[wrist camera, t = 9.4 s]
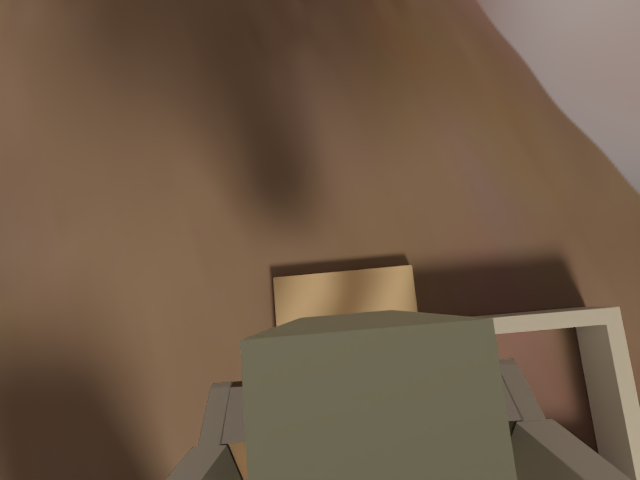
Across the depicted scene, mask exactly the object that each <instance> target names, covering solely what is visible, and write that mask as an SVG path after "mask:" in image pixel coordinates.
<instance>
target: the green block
mask: <svg viewBox="0 0 640 480" xmlns="http://www.w3.org/2000/svg"><path fill="white" fill-rule="evenodd" d="M240 349H241V367H242V386H243V405H244V423H245V442H246V461H247V479H248V480H517V475H516V469H515V462H514V455H513V449H512V442H511V435H510V429H509V422H508V415H507V409H506V402H505V395H504V389H503V382H502V375H501V369H500V362H499V355H498V349H497V342H496V335H495V329H494V322H493V318H481V317H470V316H458V315H446V314H434V313H423V312H411V311H399V310H385V311H373V312H362V313H350V314H338V315H327V316H315V317H304V318H298V319H296V320H293V321H290V322H288V323H285V324H282V325H279V326H277V327H274V328H271V329H269V330H266V331H263V332H261V333H258V334H255V335H253V336H250V337H247V338H244V339H242V340H240Z"/></svg>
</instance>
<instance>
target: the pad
mask: <svg viewBox="0 0 640 480" xmlns="http://www.w3.org/2000/svg"><path fill="white" fill-rule="evenodd" d="M273 284H274V298H275V313H276V327H277V326H279V325H282V324H285V323H288V322H290V321H293V320H296V319H298V318H304V317H315V316H327V315H338V314H350V313H362V312H373V311H385V310H399V311H411V312H418V311H417V303H416V295H415V287H414V279H413V270H412V265H405V266H394V267H383V268H372V269H362V270H351V271H340V272H329V273H318V274H307V275H296V276H285V277H274V278H273Z"/></svg>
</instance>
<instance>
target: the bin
mask: <svg viewBox="0 0 640 480" xmlns="http://www.w3.org/2000/svg"><path fill="white" fill-rule="evenodd" d="M471 317H481V318H493V322H494V329H495V334H500V333H512V332H524V331H535V330H547V329H559V328H570V327H576V333H577V338H578V344H579V349H580V355H581V360H582V366H583V371H584V377H585V382H586V388H587V393H588V399H589V404H590V410H591V415H592V421H593V426H594V432H595V437H596V443H597V448H598V454H599V455H600V456H601V457H603V458H604V459H605V460H607V461H608V462H609V463H611V464H612V465H613V466H614V467H616V468H617V469H618V470H620V471H621V472H622V473H623V474H625V475H626V476H627V477H629V478H630V479H631V480H640V407H639V402H638V397H637V392H636V387H635V382H634V377H633V372H632V367H631V362H630V357H629V352H628V347H627V342H626V337H625V332H624V327H623V322H622V317H621V312H620V307H575V308H563V309H552V310H540V311H529V312H517V313H506V314H494V315H483V316H471Z"/></svg>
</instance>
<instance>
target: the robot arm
mask: <svg viewBox="0 0 640 480" xmlns="http://www.w3.org/2000/svg"><path fill="white" fill-rule="evenodd" d="M499 362H500V369H501V375H502V382H503V389H504V395H505V402H506V409H507V415H508V422H509V429H510V435H511V442H512V449H513V455H514V462H515V469H516V475H517V480H631V479H630V478H629V477H627V476H626V475H625V474H623V473H622V472H621V471H620V470H618V469H617V468H616V467H614V466H613V465H612V464H611V463H609V462H608V461H607V460H605V459H604V458H603V457H601V456H600V455H599V454H598V453H596V452H595V451H594V450H592V449H591V448H590V447H588V446H587V445H586V444H585V443H583V442H582V441H581V440H579V439H578V438H577V437H576V436H574V435H573V434H572V433H570V432H569V431H568V430H566V429H565V428H564V427H563V426H561V425H560V424H559V423H557V422H556V421H555V420H553V419H546V417H545V415H544V414H543V412H542V410H541V408H540V406H539V404H538V402H537V400H536V398H535V396H534V394H533V392H532V390H531V388H530V387H529V385H528V383H527V381H526V379H525V377H524V375H523V373H522V371H521V369H520V367H519V365H518V363H517V362H516V361H515V360H514V359H511V358H509V359H500V360H499ZM166 480H248V479H247V461H246V442H245V423H244V405H243V386H242V381H237V382H221V383H213V384H212V386H211V388H210V391H209V396H208V400H207V405H206V410H205V415H204V419H203V424H202V429H201V434H200V438H199V443H198V447H192V448H191V449H190V450H189V452H188V453H187V454H186V455H185V457H184V458H183V459H182V460H181V461H180V463H179V464H178V465H177V466H176V468H175V469H174V470H173V471H172V472H171V474H170V475H169V476H168V477H167V479H166Z"/></svg>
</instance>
